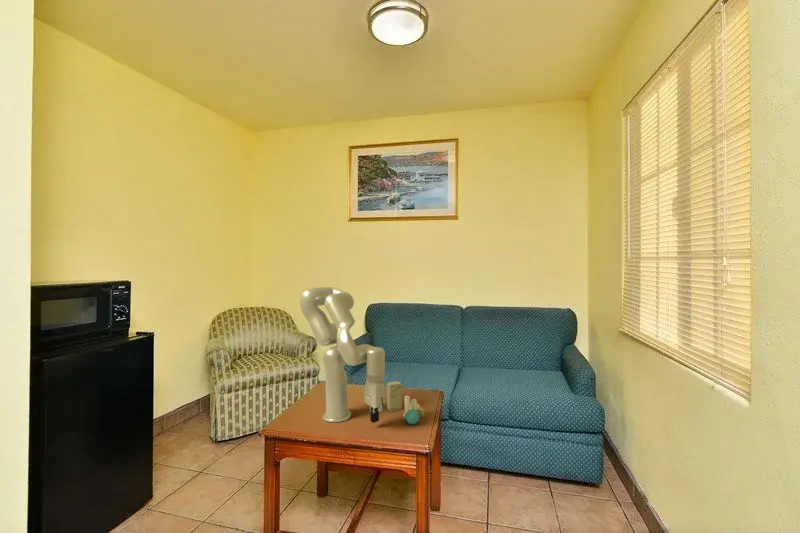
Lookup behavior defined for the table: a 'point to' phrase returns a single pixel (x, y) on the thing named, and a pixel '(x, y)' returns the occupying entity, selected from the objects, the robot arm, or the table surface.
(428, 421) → the table surface
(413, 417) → the ball
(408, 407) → the pin
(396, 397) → the skincare box
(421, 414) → the back rail
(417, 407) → the pin front
